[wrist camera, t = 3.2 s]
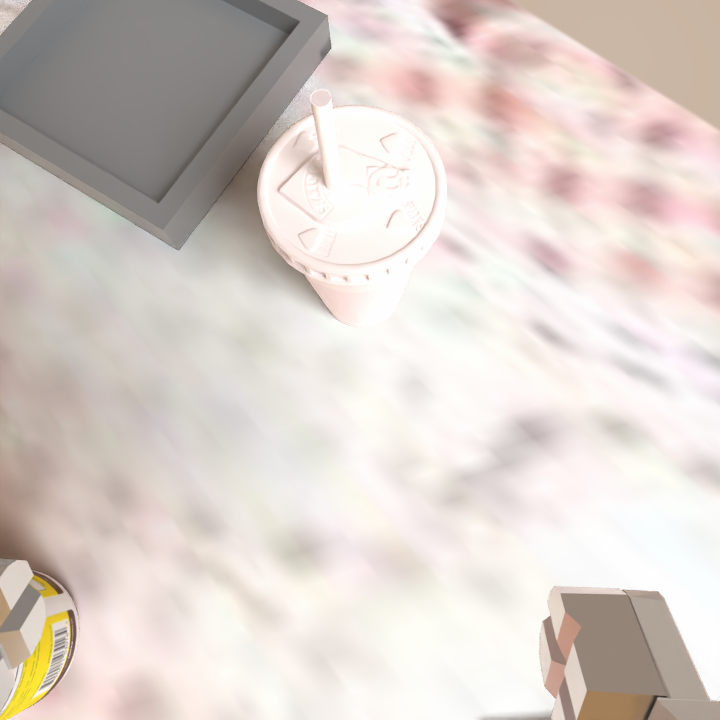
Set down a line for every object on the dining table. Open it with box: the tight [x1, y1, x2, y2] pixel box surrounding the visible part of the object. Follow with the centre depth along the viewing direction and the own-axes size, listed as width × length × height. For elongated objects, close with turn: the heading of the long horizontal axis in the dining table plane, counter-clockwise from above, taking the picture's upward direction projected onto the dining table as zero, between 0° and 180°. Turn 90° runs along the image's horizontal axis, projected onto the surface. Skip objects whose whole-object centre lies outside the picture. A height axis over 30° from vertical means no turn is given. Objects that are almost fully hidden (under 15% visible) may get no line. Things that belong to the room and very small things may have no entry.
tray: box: [0, 0, 331, 250], centre depth 31 cm, size 14×14×2 cm
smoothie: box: [257, 89, 447, 327], centre depth 22 cm, size 6×6×14 cm
